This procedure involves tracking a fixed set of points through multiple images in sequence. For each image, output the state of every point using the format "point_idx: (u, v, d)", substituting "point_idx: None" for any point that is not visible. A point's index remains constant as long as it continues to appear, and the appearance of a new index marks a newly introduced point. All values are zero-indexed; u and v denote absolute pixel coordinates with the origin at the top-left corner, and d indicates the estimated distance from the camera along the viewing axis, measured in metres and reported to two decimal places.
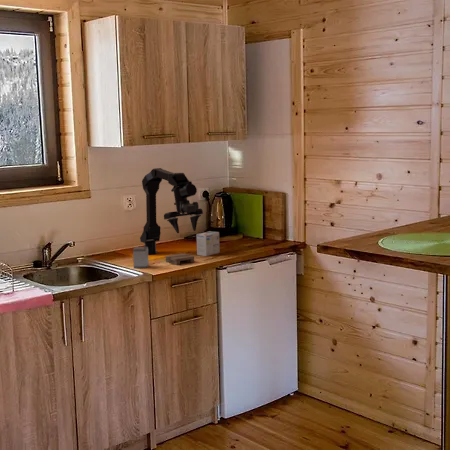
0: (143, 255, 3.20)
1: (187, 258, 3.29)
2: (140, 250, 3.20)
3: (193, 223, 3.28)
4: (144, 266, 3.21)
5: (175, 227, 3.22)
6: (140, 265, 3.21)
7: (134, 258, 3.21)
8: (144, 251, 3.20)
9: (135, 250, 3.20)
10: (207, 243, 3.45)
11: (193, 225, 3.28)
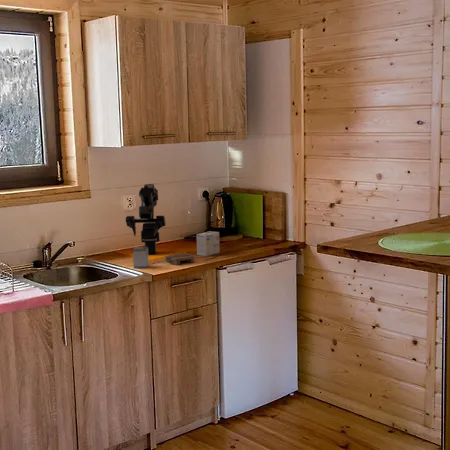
0: (143, 255, 3.20)
1: (187, 258, 3.29)
2: (140, 250, 3.20)
3: None
4: (144, 266, 3.21)
5: (133, 230, 3.32)
6: (140, 265, 3.21)
7: (134, 258, 3.21)
8: (144, 251, 3.20)
9: (135, 250, 3.20)
10: (207, 243, 3.45)
11: None
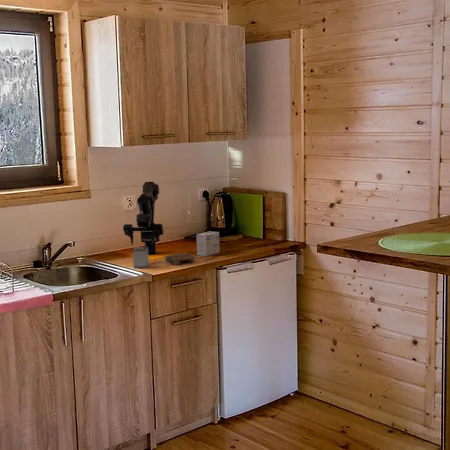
0: (143, 255, 3.20)
1: (187, 258, 3.29)
2: (140, 250, 3.20)
3: None
4: (144, 266, 3.21)
5: None
6: (140, 265, 3.21)
7: (134, 258, 3.21)
8: (144, 251, 3.20)
9: (135, 250, 3.20)
10: (207, 243, 3.45)
11: None
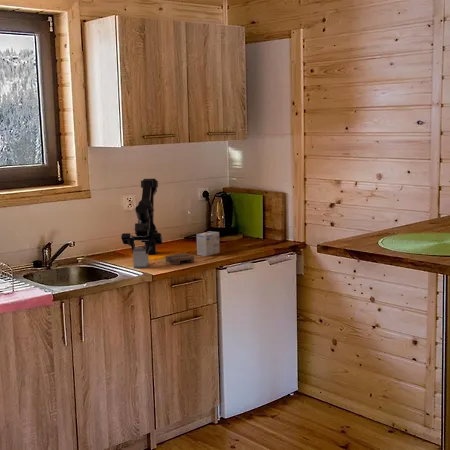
0: (143, 255, 3.20)
1: (187, 258, 3.29)
2: (140, 250, 3.20)
3: None
4: (144, 266, 3.21)
5: None
6: (140, 265, 3.21)
7: (134, 258, 3.21)
8: (144, 251, 3.20)
9: (135, 250, 3.20)
10: (207, 243, 3.45)
11: None
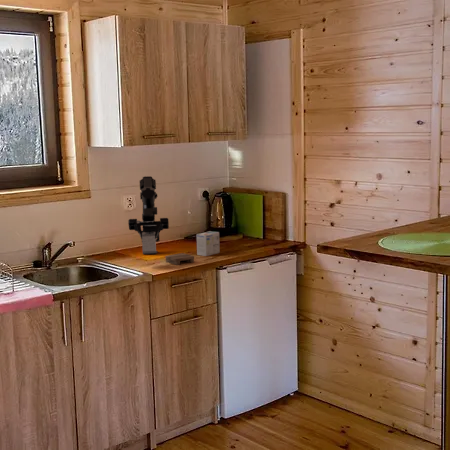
0: (152, 240, 3.20)
1: (187, 258, 3.29)
2: (149, 235, 3.20)
3: (155, 232, 3.24)
4: (153, 251, 3.21)
5: (139, 233, 3.23)
6: (149, 250, 3.21)
7: (143, 243, 3.20)
8: (153, 236, 3.20)
9: (144, 235, 3.20)
10: (207, 243, 3.45)
11: None
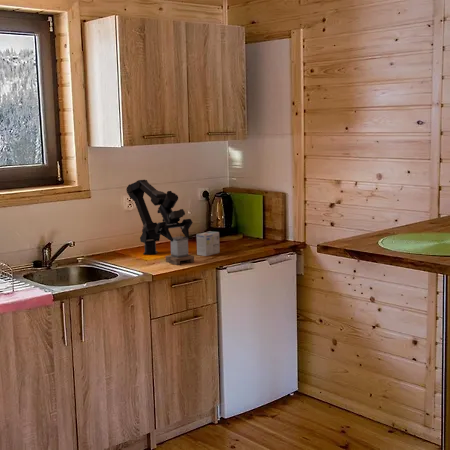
0: (185, 243, 3.30)
1: (187, 258, 3.29)
2: (183, 239, 3.29)
3: (185, 232, 3.34)
4: (186, 254, 3.31)
5: (168, 236, 3.28)
6: (183, 254, 3.30)
7: (178, 248, 3.28)
8: (186, 239, 3.30)
9: (179, 240, 3.27)
10: (207, 243, 3.45)
11: (186, 234, 3.34)
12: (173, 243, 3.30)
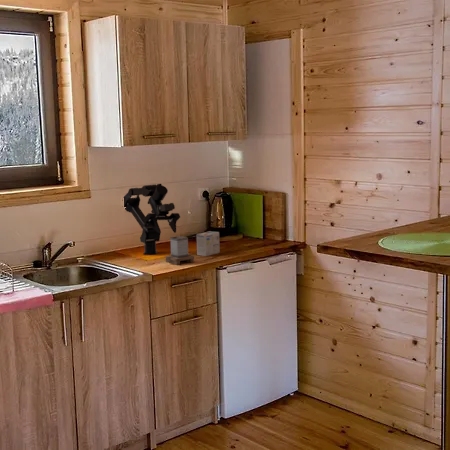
0: (185, 243, 3.30)
1: (187, 258, 3.29)
2: (183, 239, 3.29)
3: (173, 226, 3.42)
4: (186, 254, 3.31)
5: (156, 228, 3.35)
6: (183, 254, 3.30)
7: (178, 248, 3.28)
8: (186, 239, 3.30)
9: (179, 240, 3.27)
10: (207, 243, 3.45)
11: (173, 228, 3.41)
12: (173, 243, 3.30)
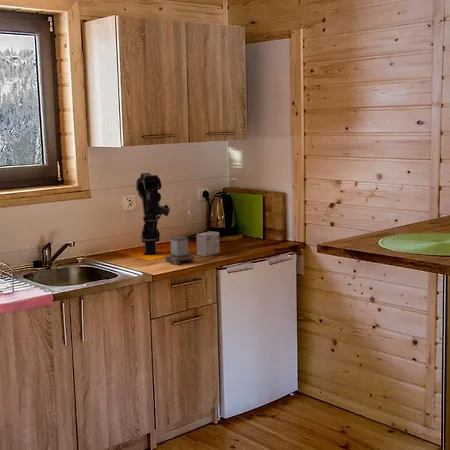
0: (185, 243, 3.30)
1: (187, 258, 3.29)
2: (183, 239, 3.29)
3: (154, 223, 3.45)
4: (186, 254, 3.31)
5: (151, 228, 3.35)
6: (183, 254, 3.30)
7: (178, 248, 3.28)
8: (186, 239, 3.30)
9: (179, 240, 3.27)
10: (207, 243, 3.45)
11: (154, 225, 3.45)
12: (173, 243, 3.30)
